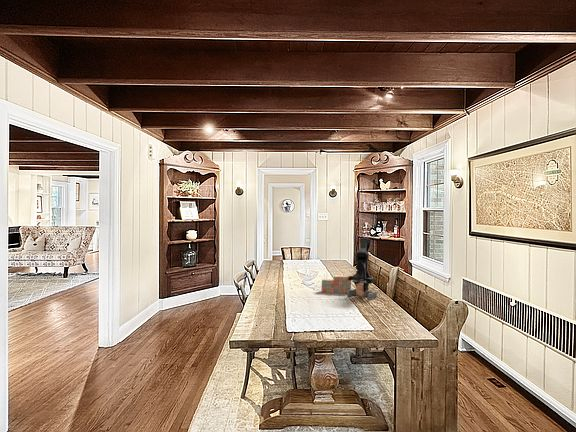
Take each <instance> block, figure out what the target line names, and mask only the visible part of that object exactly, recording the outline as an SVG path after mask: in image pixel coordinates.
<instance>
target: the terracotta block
mask: <svg viewBox="0 0 576 432" xmlns="http://www.w3.org/2000/svg"><path fill="white" fill-rule="evenodd" d="M355 289H356V295H355V296H360V297H366V296H365V295H366V291H365V292H364V284H363V283H358V284H356V286H355Z"/></svg>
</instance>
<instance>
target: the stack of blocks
mask: <svg viewBox="0 0 576 432" xmlns="http://www.w3.org/2000/svg"><path fill="white" fill-rule="evenodd" d="M349 276H350V275H338V274H337V275H336V274H335V275H333V278H331V279H330V278H322V279H321V293H330V294H348V291H349V290H352V288H351V287H352V281H351V280H348V277H349Z"/></svg>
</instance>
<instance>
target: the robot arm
mask: <svg viewBox="0 0 576 432" xmlns="http://www.w3.org/2000/svg"><path fill="white" fill-rule="evenodd" d="M371 245H372V239H371V238H368V237H361V238H360V239H359V246H360V247H359V249H358V250H357V251H356V254H355V262H357V264H356V266H355V268H356V271H355V273H354V274H353V275H348V276H349V277H348V280H351V283H353V284H354V286H355V287H356V284H358V283H363V284H364V292H365V291H366V290H367V291H370V290H369V286H370V284H375V282H376V280H375V278H374V277H372V276H371V274H370V272H369V269H368V267H369V264H368V263H369V250H370V248H371Z"/></svg>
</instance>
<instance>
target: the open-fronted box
mask: <svg viewBox="0 0 576 432" xmlns="http://www.w3.org/2000/svg"><path fill="white" fill-rule="evenodd" d="M377 295H378V292H377V291H372V290H369V291H367V290H366V295H365V296H364V297H367V300H368V301H371V300H374V299H377V297H378V296H377ZM352 296H357V295H356V288H354V289H351V290H349V291H348V293H347V297H352Z"/></svg>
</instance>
